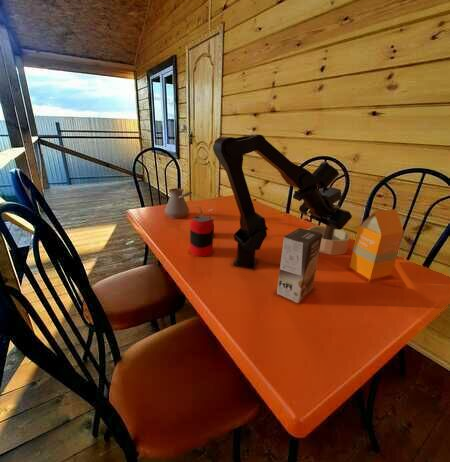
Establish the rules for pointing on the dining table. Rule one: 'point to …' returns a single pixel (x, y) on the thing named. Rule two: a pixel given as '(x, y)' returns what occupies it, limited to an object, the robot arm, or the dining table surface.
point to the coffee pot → (177, 204)
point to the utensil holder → (209, 217)
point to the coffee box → (298, 264)
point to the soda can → (201, 236)
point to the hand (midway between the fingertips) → (333, 226)
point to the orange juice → (377, 244)
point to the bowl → (333, 241)
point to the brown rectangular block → (330, 228)
